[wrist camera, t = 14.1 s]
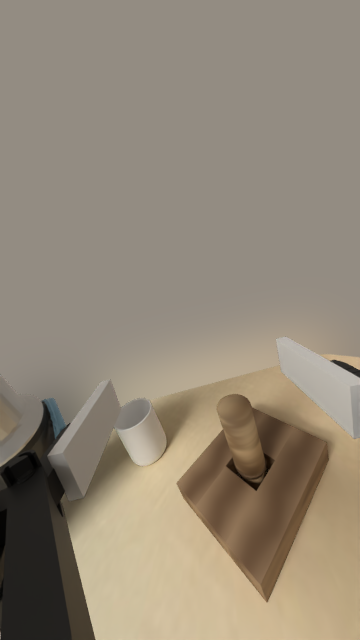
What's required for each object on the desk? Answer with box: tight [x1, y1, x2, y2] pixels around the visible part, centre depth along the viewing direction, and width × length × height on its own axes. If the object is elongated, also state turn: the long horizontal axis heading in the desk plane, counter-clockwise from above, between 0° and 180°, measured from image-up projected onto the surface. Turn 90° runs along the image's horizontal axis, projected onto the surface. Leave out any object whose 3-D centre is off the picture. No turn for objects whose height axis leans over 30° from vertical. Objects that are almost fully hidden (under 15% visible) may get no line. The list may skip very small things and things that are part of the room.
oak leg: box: [217, 394, 266, 491], centre depth 31 cm, size 5×5×16 cm
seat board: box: [177, 407, 329, 602], centre depth 33 cm, size 15×20×4 cm
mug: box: [114, 398, 167, 466], centre depth 45 cm, size 9×12×11 cm
